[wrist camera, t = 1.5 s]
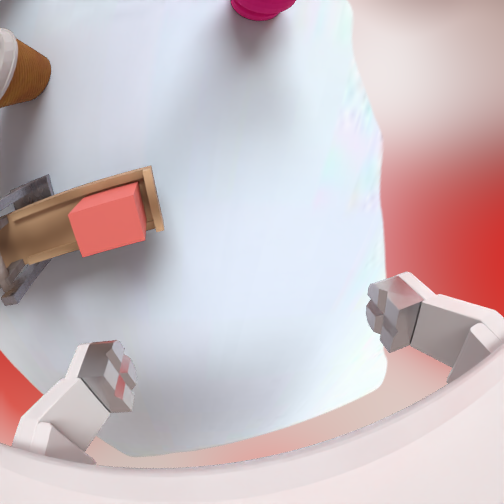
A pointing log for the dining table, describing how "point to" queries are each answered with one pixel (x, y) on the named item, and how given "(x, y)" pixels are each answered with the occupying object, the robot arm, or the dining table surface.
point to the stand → (20, 198)
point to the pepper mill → (260, 8)
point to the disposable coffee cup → (20, 70)
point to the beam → (62, 223)
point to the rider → (109, 219)
